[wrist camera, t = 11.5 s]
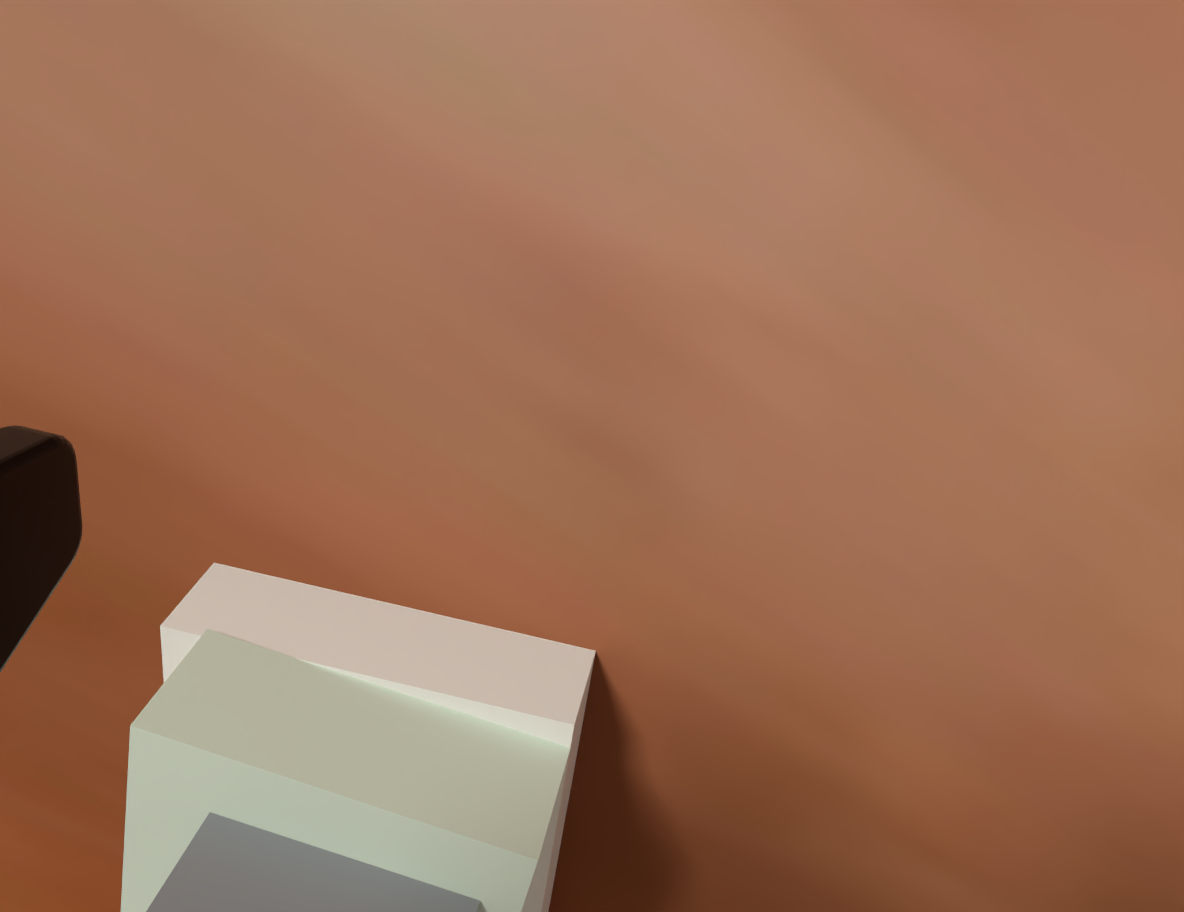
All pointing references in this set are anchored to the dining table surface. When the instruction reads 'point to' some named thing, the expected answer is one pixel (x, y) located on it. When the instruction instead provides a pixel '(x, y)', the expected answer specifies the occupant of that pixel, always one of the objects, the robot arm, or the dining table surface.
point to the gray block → (287, 878)
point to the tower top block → (333, 775)
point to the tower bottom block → (404, 663)
